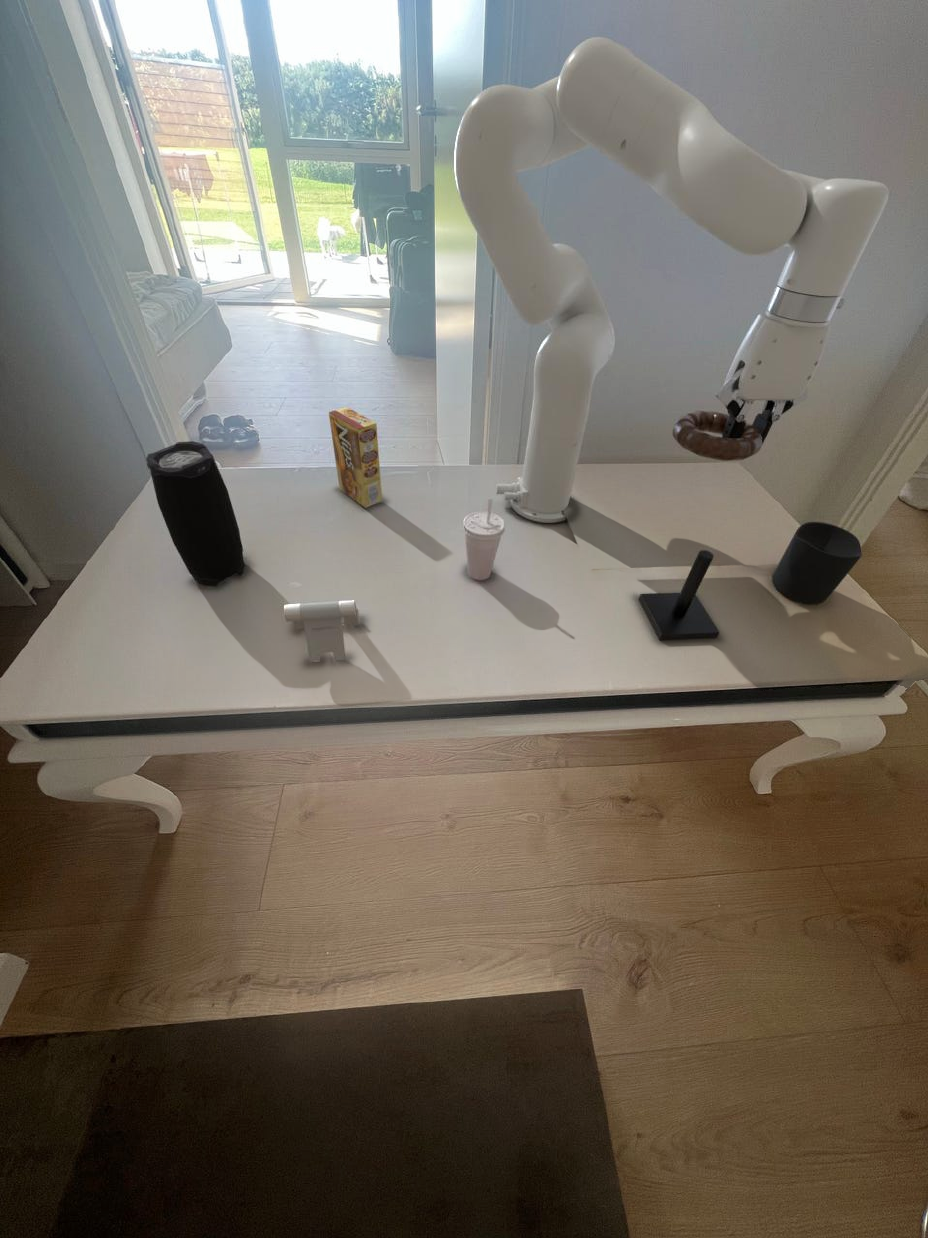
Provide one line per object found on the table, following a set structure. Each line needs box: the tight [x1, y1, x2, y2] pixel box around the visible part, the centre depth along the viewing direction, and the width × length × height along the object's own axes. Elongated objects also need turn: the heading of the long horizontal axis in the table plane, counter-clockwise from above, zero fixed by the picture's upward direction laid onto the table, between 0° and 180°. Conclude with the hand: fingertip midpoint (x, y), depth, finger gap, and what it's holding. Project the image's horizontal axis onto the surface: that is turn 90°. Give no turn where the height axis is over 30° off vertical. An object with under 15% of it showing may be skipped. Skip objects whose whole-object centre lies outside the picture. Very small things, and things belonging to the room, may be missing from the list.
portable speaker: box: [146, 440, 246, 587], centre depth 75 cm, size 9×9×20 cm
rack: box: [638, 549, 720, 641], centre depth 76 cm, size 9×9×12 cm
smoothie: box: [462, 496, 506, 581], centre depth 80 cm, size 6×6×14 cm
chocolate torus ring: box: [671, 410, 763, 462], centre depth 77 cm, size 12×12×3 cm
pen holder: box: [771, 521, 863, 605], centre depth 83 cm, size 9×9×10 cm
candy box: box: [328, 406, 383, 509], centre depth 94 cm, size 9×4×15 cm, turn 44°
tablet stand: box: [283, 599, 360, 663], centre depth 70 cm, size 9×8×8 cm
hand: (741, 442), depth 79 cm, fingers closed on chocolate torus ring, 3 cm apart
